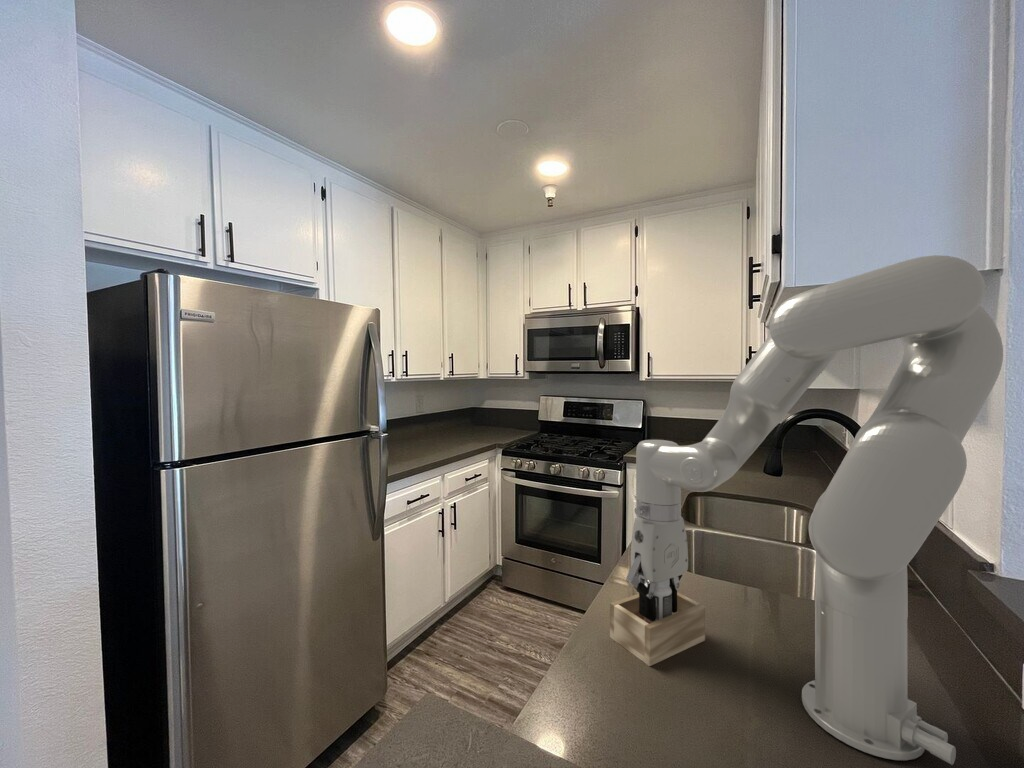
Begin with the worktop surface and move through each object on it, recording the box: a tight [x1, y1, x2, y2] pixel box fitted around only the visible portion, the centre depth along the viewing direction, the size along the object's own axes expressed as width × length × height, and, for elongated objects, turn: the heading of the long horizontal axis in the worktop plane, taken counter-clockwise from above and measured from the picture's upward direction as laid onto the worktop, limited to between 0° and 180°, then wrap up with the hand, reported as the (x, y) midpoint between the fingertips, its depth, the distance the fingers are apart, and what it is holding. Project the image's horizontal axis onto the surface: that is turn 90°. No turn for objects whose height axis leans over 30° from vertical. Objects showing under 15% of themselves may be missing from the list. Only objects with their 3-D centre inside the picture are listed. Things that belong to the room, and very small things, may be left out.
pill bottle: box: [644, 579, 672, 624], centre depth 74 cm, size 5×5×8 cm
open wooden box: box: [609, 591, 706, 667], centre depth 74 cm, size 9×14×6 cm, turn 120°
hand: (658, 612), depth 74 cm, fingers closed on pill bottle, 4 cm apart
